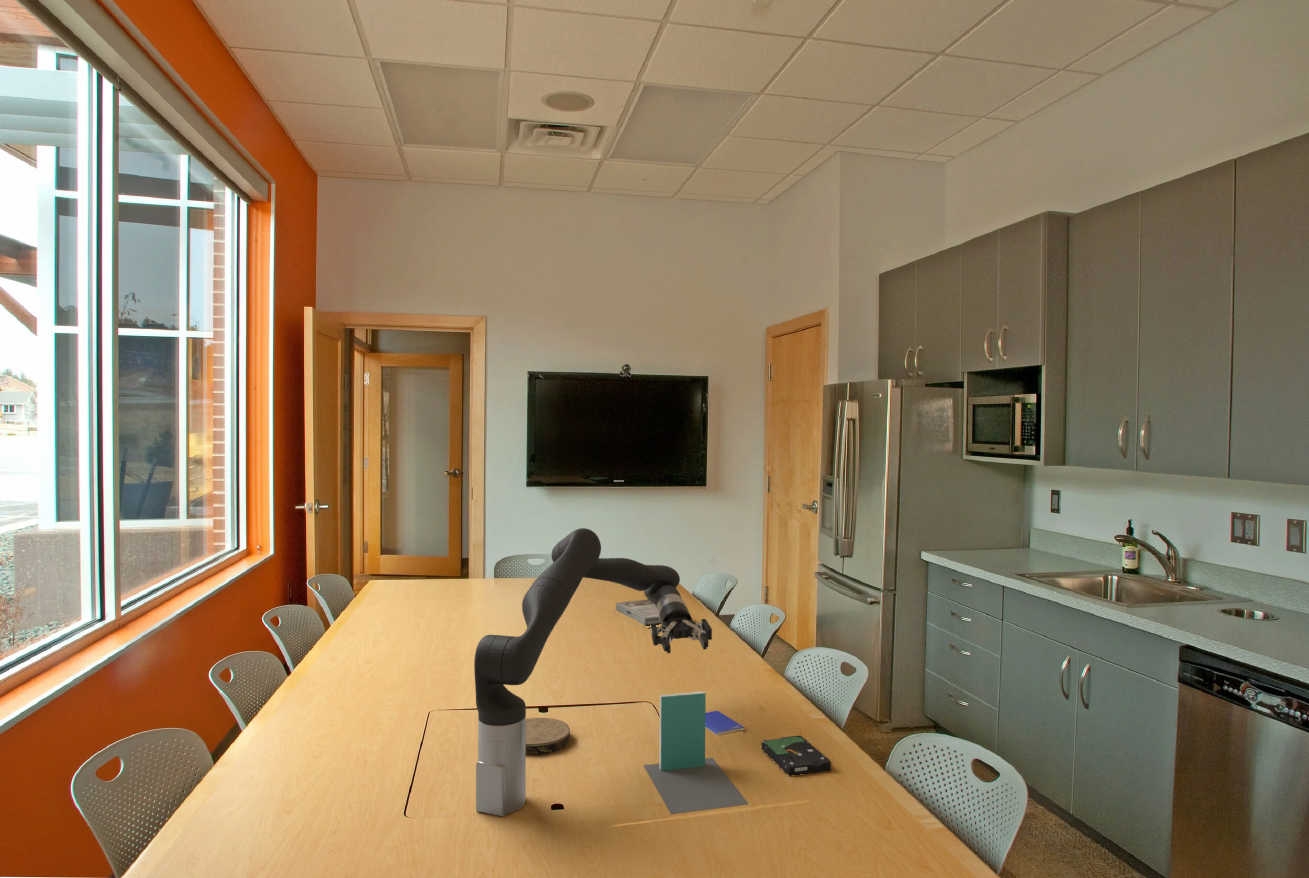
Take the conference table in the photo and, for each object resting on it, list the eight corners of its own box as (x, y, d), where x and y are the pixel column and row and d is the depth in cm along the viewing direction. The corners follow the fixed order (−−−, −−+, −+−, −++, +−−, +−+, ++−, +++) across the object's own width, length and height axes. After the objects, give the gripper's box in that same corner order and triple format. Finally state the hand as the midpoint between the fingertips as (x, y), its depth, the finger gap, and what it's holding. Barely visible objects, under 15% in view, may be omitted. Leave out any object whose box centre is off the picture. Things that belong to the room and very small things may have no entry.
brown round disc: (571, 754, 177) (571, 741, 177) (500, 759, 174) (500, 746, 174) (568, 728, 192) (568, 716, 192) (502, 731, 190) (503, 719, 190)
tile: (659, 768, 168) (659, 695, 168) (702, 763, 171) (703, 691, 171) (661, 771, 167) (661, 697, 167) (705, 766, 170) (705, 693, 169)
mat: (643, 767, 170) (643, 765, 170) (712, 759, 174) (712, 757, 174) (670, 816, 149) (671, 814, 149) (748, 806, 153) (748, 804, 153)
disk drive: (832, 774, 168) (800, 745, 183) (832, 761, 168) (800, 734, 183) (788, 780, 166) (760, 750, 180) (789, 767, 165) (760, 739, 180)
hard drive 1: (646, 629, 286) (646, 617, 286) (615, 614, 309) (615, 603, 309) (689, 624, 294) (689, 612, 294) (655, 609, 318) (655, 598, 318)
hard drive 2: (745, 726, 190) (718, 710, 202) (716, 732, 187) (691, 715, 198) (745, 732, 191) (718, 716, 202) (716, 738, 187) (691, 721, 198)
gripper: (645, 603, 192) (656, 636, 177) (701, 598, 194) (717, 630, 179) (646, 630, 194) (657, 665, 179) (701, 625, 196) (717, 659, 181)
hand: (687, 648), depth 179 cm, fingers open, 8 cm apart
